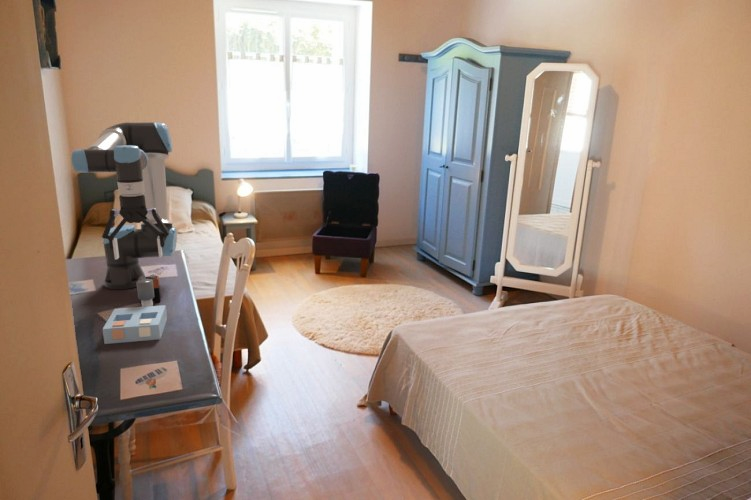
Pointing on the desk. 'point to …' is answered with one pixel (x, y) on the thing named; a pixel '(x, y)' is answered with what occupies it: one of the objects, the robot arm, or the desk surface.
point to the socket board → (135, 324)
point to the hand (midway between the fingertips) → (139, 257)
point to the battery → (156, 287)
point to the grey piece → (145, 292)
